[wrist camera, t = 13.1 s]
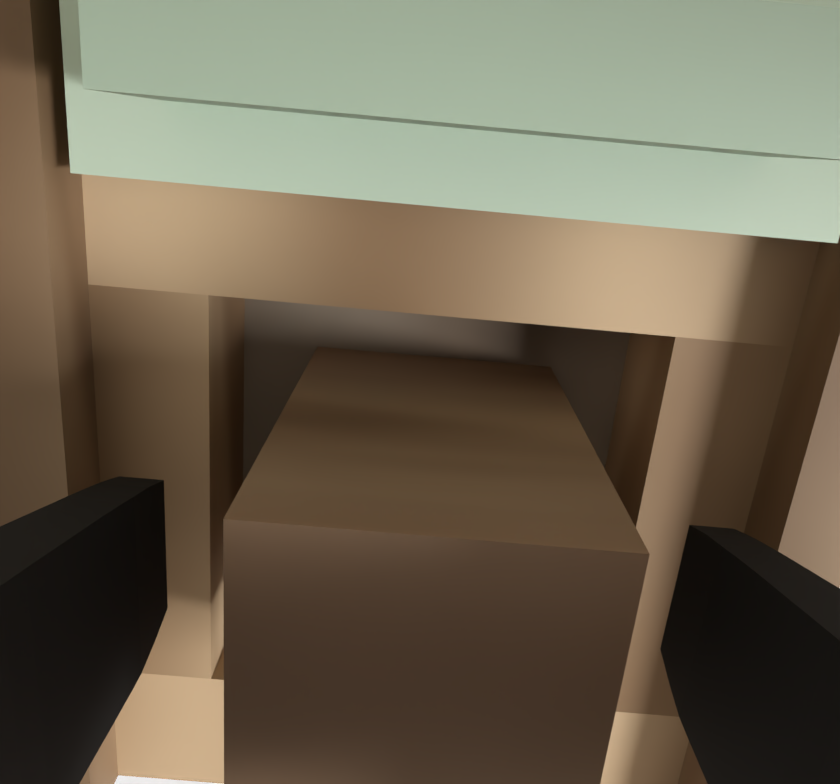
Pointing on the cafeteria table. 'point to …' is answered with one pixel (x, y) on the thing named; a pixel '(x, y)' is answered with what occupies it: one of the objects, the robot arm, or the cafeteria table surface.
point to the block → (425, 582)
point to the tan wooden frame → (391, 333)
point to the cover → (474, 104)
